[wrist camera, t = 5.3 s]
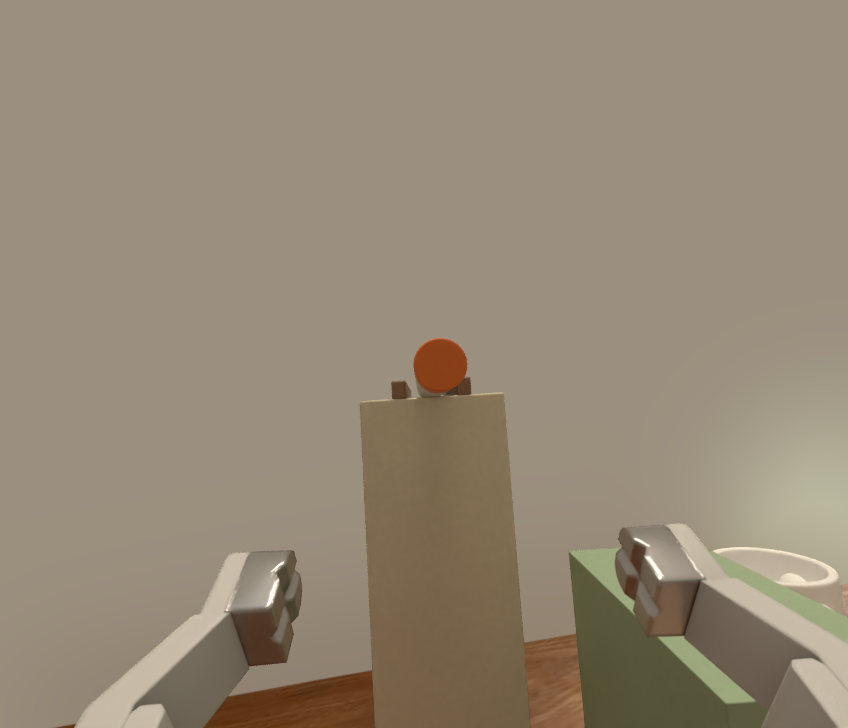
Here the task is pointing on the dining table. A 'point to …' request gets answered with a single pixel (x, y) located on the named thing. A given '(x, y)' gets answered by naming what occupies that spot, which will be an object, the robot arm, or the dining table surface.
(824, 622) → the low block
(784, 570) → the mug
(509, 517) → the tall stand
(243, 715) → the dining table surface
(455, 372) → the marker
